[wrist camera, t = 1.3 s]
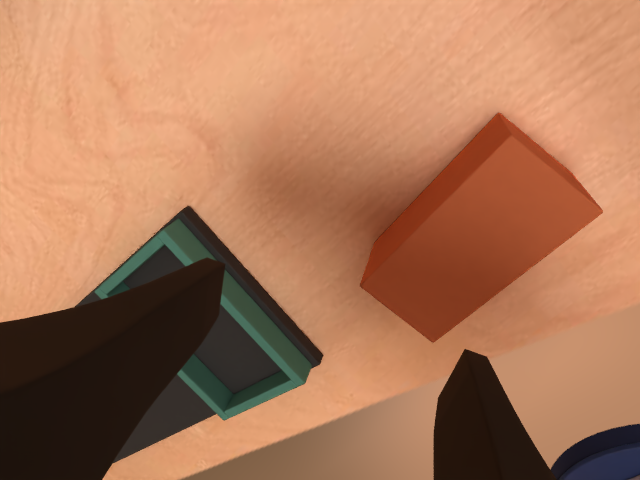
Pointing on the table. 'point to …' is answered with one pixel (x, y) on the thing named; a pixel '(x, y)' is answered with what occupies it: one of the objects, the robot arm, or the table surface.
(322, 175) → the table surface
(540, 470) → the robot arm
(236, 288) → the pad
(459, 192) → the pad piece
